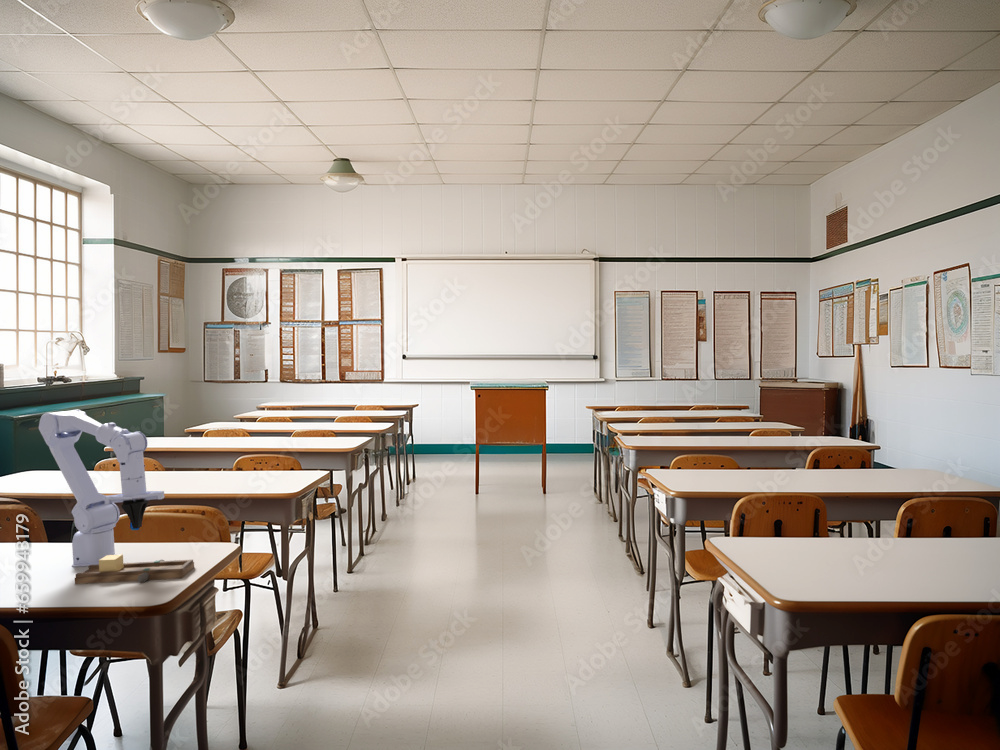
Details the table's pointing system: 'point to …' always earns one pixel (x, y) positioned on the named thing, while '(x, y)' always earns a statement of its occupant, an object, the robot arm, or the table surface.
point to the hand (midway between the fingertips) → (137, 527)
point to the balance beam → (137, 572)
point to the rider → (111, 563)
